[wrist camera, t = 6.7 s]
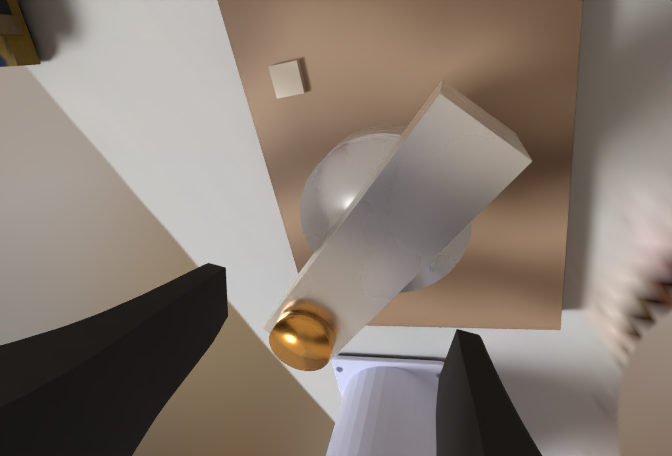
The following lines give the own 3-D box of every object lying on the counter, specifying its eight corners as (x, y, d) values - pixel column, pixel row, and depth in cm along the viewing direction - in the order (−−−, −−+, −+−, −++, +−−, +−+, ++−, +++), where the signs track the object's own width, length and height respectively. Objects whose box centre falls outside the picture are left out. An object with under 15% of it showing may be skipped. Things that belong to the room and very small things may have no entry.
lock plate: (553, 311, 21) (583, 394, 16) (320, 309, 25) (290, 373, 21) (580, -167, 12) (661, -286, 8) (222, -41, 17) (134, -66, 12)
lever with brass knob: (401, 40, 11) (371, 49, 7) (546, 147, 12) (602, 217, 7) (274, 239, 16) (212, 315, 12) (380, 310, 16) (355, 410, 12)
